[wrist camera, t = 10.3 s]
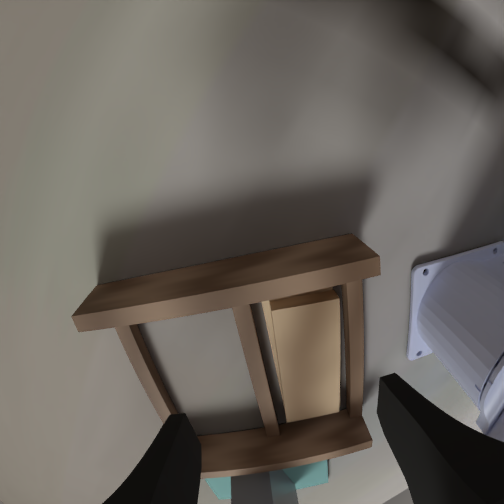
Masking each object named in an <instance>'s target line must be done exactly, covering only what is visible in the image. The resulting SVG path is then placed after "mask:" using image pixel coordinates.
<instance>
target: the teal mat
mask: <svg viewBox="0 0 504 504" xmlns="http://www.w3.org/2000/svg"><path fill="white" fill-rule="evenodd" d="M282 470H283V471H284V472H285V474H286V475H287V476H288V477H289V478H290V479H291V480H292V482H293V483H294V484H295V487H296V489H301V488H306V487H310V486H315V485H319V484H324V483H328V466H327V460H324V461H319V462H315V463H311V464H306V465H301V466H297V467H292V468H286V469H282ZM205 480H206V482H207V483H208V484H209V486H210V487H211V489H212V490H213V492H214V493H215V495H216V496H217V497H218V499H231V476H230V477H219V478H206V479H205Z"/></svg>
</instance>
